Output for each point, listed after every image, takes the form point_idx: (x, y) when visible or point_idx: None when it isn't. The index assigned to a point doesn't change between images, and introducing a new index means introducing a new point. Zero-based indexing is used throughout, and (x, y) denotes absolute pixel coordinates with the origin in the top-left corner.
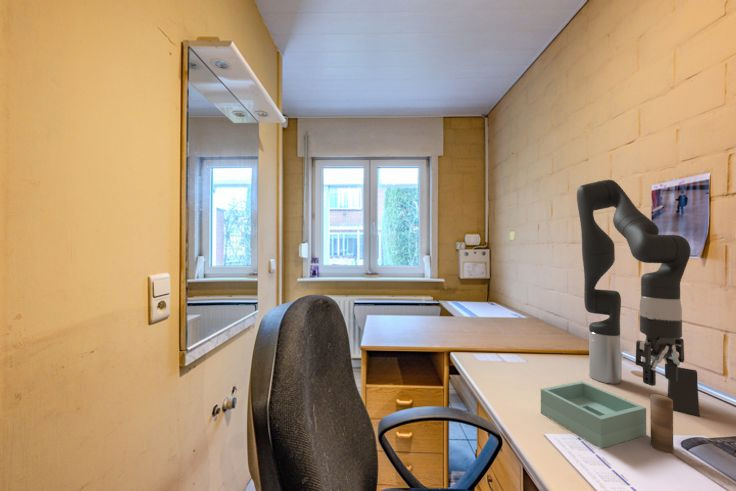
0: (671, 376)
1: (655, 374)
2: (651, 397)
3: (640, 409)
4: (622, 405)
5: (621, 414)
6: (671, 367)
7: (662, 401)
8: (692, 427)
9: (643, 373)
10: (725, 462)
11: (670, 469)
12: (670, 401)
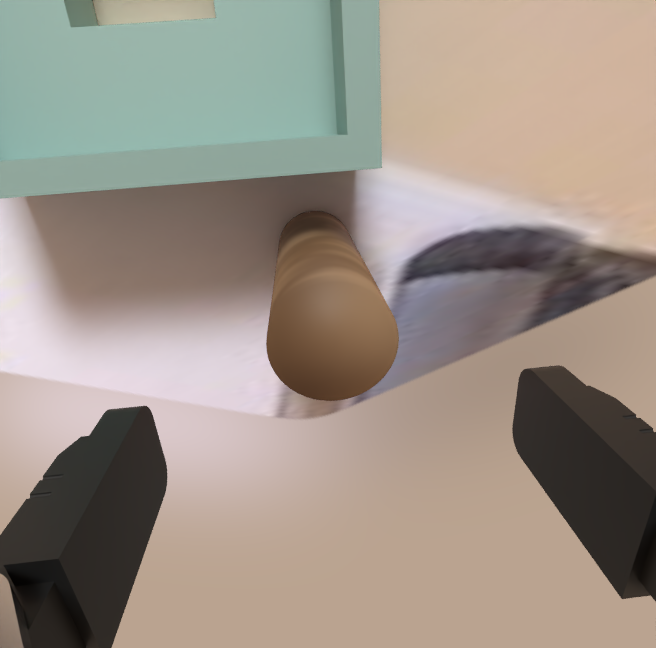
0: (535, 439)
1: (120, 602)
2: (274, 312)
3: (319, 172)
4: (337, 22)
5: (116, 188)
6: (613, 528)
7: (281, 378)
8: (649, 170)
9: (13, 523)
10: (440, 359)
11: (199, 344)
12: (336, 393)
